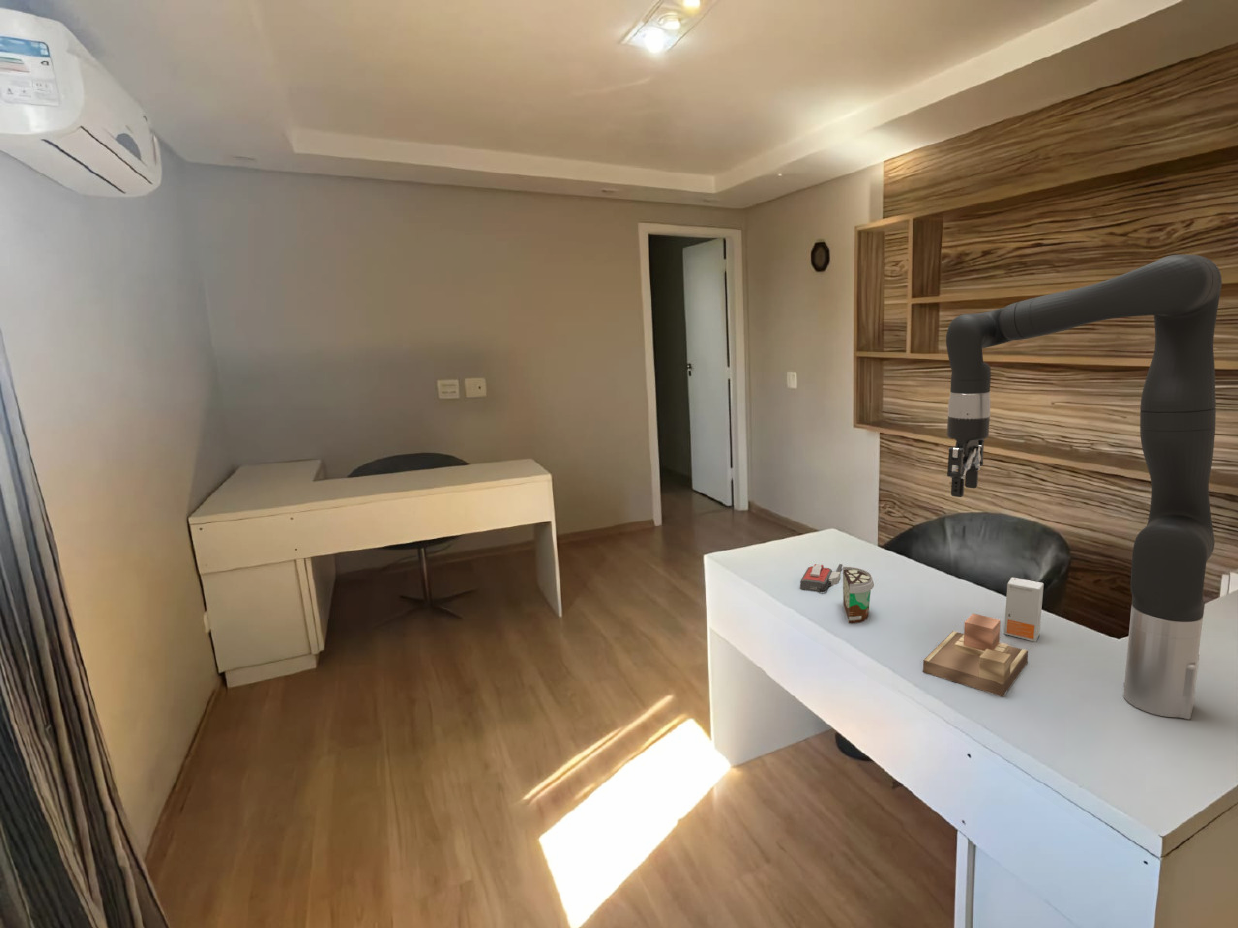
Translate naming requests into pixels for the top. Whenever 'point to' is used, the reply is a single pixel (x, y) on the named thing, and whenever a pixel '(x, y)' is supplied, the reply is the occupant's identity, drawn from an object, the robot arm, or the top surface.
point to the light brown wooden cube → (994, 665)
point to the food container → (856, 593)
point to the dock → (970, 666)
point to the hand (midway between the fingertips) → (964, 491)
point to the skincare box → (1023, 609)
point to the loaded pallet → (981, 636)
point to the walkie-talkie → (819, 578)
